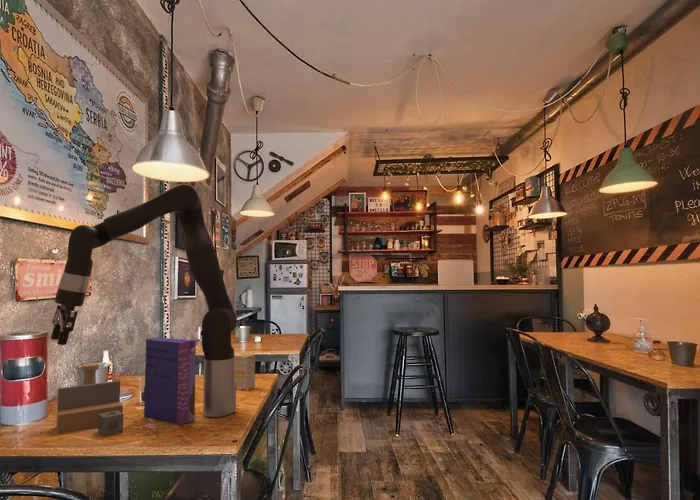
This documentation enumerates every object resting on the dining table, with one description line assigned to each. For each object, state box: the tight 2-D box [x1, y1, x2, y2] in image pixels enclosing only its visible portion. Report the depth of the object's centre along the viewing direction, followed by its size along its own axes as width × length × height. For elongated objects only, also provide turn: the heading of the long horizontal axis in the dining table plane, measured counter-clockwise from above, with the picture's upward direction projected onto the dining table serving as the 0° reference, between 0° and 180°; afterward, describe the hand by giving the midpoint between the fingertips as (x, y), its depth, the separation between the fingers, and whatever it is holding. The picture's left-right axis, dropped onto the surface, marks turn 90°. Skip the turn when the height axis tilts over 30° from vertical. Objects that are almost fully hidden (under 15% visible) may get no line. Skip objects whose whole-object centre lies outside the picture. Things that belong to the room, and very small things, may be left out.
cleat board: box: [56, 380, 124, 435], centre depth 127 cm, size 16×7×11 cm, turn 126°
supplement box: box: [234, 353, 256, 391], centre depth 169 cm, size 8×5×13 cm, turn 58°
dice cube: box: [97, 410, 124, 437], centre depth 120 cm, size 5×5×5 cm
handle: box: [80, 362, 100, 385], centre depth 140 cm, size 5×6×15 cm
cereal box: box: [143, 337, 197, 426], centre depth 132 cm, size 17×5×24 cm, turn 59°
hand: (58, 342), depth 130 cm, fingers open, 8 cm apart
